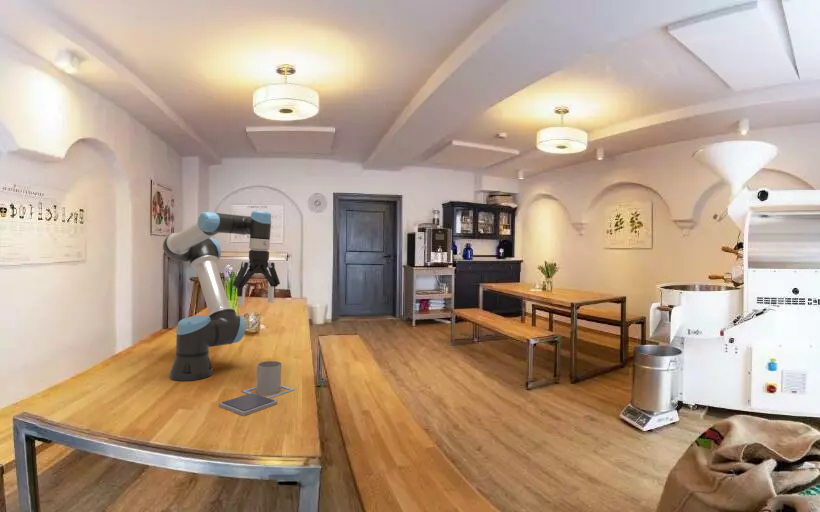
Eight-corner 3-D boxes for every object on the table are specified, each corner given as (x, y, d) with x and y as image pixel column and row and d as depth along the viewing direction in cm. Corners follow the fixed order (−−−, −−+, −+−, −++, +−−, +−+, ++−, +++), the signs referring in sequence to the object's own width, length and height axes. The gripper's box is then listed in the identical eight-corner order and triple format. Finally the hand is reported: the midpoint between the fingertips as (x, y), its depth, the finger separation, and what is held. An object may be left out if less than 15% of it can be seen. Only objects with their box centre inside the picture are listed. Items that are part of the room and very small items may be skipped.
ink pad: (218, 406, 133) (218, 402, 133) (252, 395, 144) (252, 391, 144) (243, 415, 126) (243, 411, 126) (277, 403, 137) (277, 400, 137)
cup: (272, 396, 144) (273, 368, 144) (251, 393, 146) (252, 365, 146) (284, 388, 153) (285, 362, 153) (264, 386, 154) (265, 360, 154)
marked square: (241, 391, 147) (241, 391, 147) (271, 383, 158) (271, 382, 158) (265, 399, 140) (265, 399, 140) (294, 390, 151) (294, 389, 151)
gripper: (237, 249, 148) (233, 307, 148) (290, 251, 169) (287, 302, 169) (224, 248, 152) (221, 304, 152) (278, 250, 173) (275, 300, 173)
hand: (256, 303), depth 161 cm, fingers open, 13 cm apart
